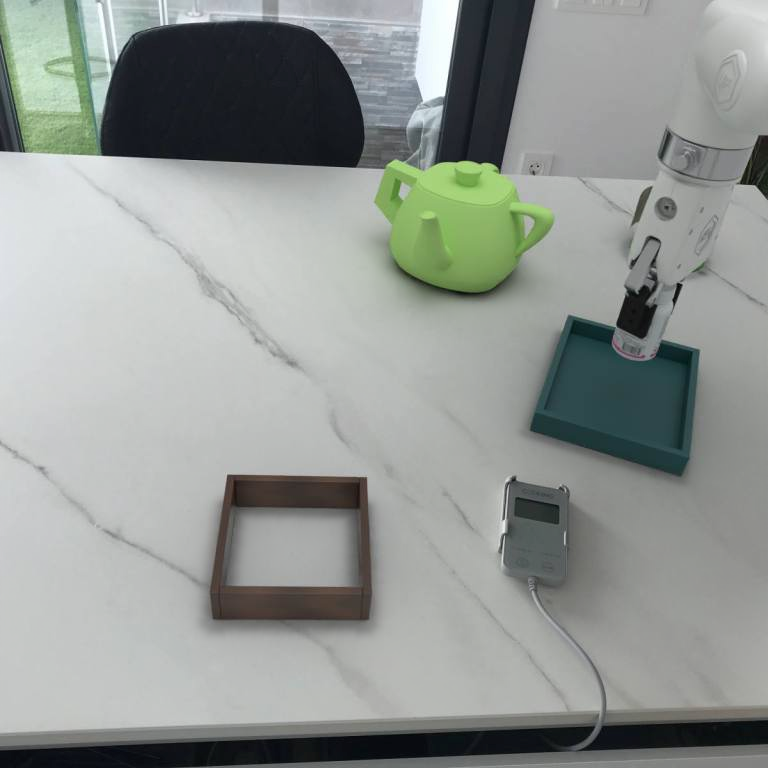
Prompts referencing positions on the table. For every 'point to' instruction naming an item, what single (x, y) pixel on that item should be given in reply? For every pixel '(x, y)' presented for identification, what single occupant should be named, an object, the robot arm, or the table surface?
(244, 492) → the square wooden frame
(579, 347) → the tray
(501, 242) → the teapot
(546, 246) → the table surface
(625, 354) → the pill bottle
